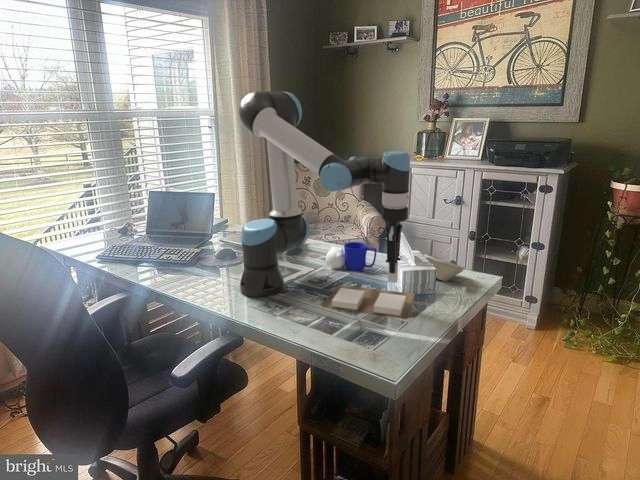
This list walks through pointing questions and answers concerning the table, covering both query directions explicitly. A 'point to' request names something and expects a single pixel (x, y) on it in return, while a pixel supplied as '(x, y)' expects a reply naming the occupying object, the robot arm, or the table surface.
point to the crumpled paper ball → (335, 258)
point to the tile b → (389, 304)
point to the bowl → (444, 268)
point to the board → (371, 301)
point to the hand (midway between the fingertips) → (392, 281)
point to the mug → (357, 256)
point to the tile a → (348, 298)
